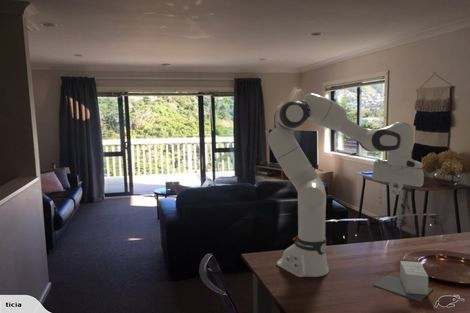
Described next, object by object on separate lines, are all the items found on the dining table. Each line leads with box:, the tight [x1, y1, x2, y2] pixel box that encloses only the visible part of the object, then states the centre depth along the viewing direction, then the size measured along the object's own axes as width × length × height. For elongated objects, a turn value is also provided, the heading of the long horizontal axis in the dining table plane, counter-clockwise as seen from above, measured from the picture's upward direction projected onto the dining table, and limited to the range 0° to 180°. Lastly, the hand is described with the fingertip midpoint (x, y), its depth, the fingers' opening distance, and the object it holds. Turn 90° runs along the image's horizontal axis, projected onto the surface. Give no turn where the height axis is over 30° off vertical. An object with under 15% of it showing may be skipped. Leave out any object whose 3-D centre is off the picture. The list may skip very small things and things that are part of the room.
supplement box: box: [399, 260, 429, 296], centre depth 135 cm, size 7×7×13 cm
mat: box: [373, 274, 434, 303], centre depth 136 cm, size 17×12×1 cm
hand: (394, 194), depth 152 cm, fingers closed
